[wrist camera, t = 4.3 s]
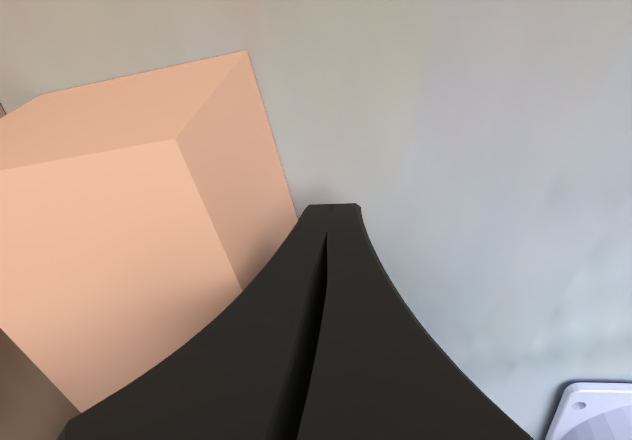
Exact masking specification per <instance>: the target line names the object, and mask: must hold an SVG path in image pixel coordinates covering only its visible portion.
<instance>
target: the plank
mask: <svg viewBox="0 0 632 440" xmlns="http://www.w3.org/2000/svg"><path fill="white" fill-rule="evenodd" d="M5 115H6V114H5V112H4V110H3V108H2V107H1V105H0V118H2V117H4V116H5ZM79 414H81V412H80V411H79V410H78V409H77V408H76V407H75V406H74V405H73V404H72V403H71V402H70V401H69V400H68V399H67V397H66V396H65V395H64V394H63V393H62V392H61V391H60V390H59V389H58V388H57V387H56V386H55V385H54V384H53V383H52V382H51V381H50V380H49V379H48V378H47V376H46V375H45V374H44V373H43V372H42V371H41V370H40V369H39V368H38V367H37V366H36V365H35V364H34V363H33V362H32V361H31V360H30V359H29V358H28V356H27V355H26V354H25V353H24V352H23V351H22V350H21V349H20V348H19V347H18V346H17V345H16V344H15V343H14V342H13V341H12V340H11V339H10V338H9V336H8V335H7V334H6V333H5V332H4V331H3V330H2V329H1V328H0V440H56V439H57V437H58V436H59V434H60V433H61V431H62V430H63V428H64V427H65V425H66V423H67V422H68V421H69V420H70V419H72V418H74V417H76V416H77V415H79Z"/></svg>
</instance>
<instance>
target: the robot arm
mask: <svg viewBox="0 0 632 440" xmlns="http://www.w3.org/2000/svg"><path fill="white" fill-rule="evenodd" d="M56 440H534V439H533V438H532V437H531V436H530V435H529V434H527V433H526V432H525V431H524V430H523V429H522V428H521V427H520V426H518V425H517V424H516V423H515V422H514V421H513V420H512V419H511V418H509V417H508V416H507V415H506V414H505V413H504V412H503V411H502V410H501V409H500V408H499V407H498V406H497V405H495V404H494V403H493V402H492V401H491V400H490V399H489V398H488V397H487V396H486V395H485V394H484V393H483V392H482V391H481V390H480V389H479V388H478V387H477V386H476V385H475V384H474V383H473V382H472V381H471V380H470V379H469V378H468V377H467V376H466V375H465V374H464V373H463V372H462V371H461V370H460V369H459V368H458V367H457V365H456V364H455V363H454V362H453V361H452V360H451V359H450V358H449V356H448V355H447V354H446V353H445V352H444V351H443V350H442V349H441V347H440V346H439V345H438V344H437V343H436V342H435V341H434V340H433V338H432V337H431V336H430V335H429V334H428V332H427V331H426V330H425V329H424V327H423V326H422V325H421V324H420V322H419V321H418V320H417V318H416V317H415V316H414V314H413V313H412V312H411V310H410V309H409V307H408V306H407V305H406V303H405V302H404V300H403V299H402V297H401V296H400V294H399V293H398V291H397V290H396V288H395V287H394V285H393V283H392V282H391V280H390V278H389V276H388V275H387V273H386V271H385V270H384V268H383V266H382V264H381V262H380V260H379V258H378V256H377V254H376V252H375V250H374V248H373V246H372V244H371V241H370V239H369V237H368V234H367V231H366V229H365V226H364V223H363V219H362V214H361V207H360V206H359V205H357V204H356V203H352V204H319V205H309V206H308V207H307V208H306V209H305V210H304V212H303V213H302V215H301V217H300V218H299V220H298V221H297V223H296V224H295V226H294V227H293V229H292V230H291V232H290V233H289V235H288V236H287V238H286V239H285V240H284V242H283V243H282V244H281V246H280V247H279V248H278V250H277V251H276V252H275V254H274V255H273V256H272V258H271V259H270V260H269V261H268V263H267V264H266V265H265V266H264V267H263V269H262V270H261V271H260V272H259V273H258V274H257V276H256V277H255V278H254V279H253V280H252V281H251V283H250V284H249V285H248V286H247V287H246V288H245V289H244V290H243V291H242V292H241V293H240V294H239V296H238V297H237V298H236V299H235V300H234V301H233V302H232V303H231V304H230V305H228V306H227V307H226V308H225V309H224V310H223V311H222V312H221V313H220V314H219V315H218V316H217V317H216V318H215V319H214V320H212V321H211V322H210V323H209V324H208V325H207V326H206V327H204V328H203V329H202V330H201V331H200V332H198V333H197V334H196V335H195V336H194V337H192V338H191V339H190V340H189V341H188V342H186V343H185V344H184V345H183V346H181V347H180V348H179V349H178V350H176V351H175V352H174V353H172V354H171V355H169V356H168V357H167V358H165V359H164V360H163V361H161V362H160V363H159V364H157V365H156V366H154V367H153V368H151V369H150V370H148V371H147V372H146V373H144V374H143V375H141V376H140V377H138V378H137V379H135V380H134V381H132V382H131V383H129V384H128V385H126V386H125V387H123V388H121V389H120V390H118V391H117V392H115V393H113V394H112V395H110V396H108V397H107V398H105V399H104V400H102V401H100V402H99V403H97V404H95V405H94V406H92V407H91V408H89V409H87V410H86V411H84V412H82V413H81V414H79V415H77V416H76V417H74V418H72V419H70V420H69V421H68V422H67V423H66V425H65V427H64V428H63V430H62V431H61V433H60V434H59V436H58V437H57V439H56ZM545 440H632V383H588V382H579V383H574V384H571V385H569V386H568V387H567V388H566V389H565V391H564V393H563V396H562V398H561V401H560V403H559V406H558V408H557V411H556V413H555V416H554V418H553V421H552V423H551V426H550V428H549V431H548V433H547V436H546V438H545Z"/></svg>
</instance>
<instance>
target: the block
mask: <svg viewBox="0 0 632 440" xmlns="http://www.w3.org/2000/svg"><path fill="white" fill-rule="evenodd" d="M297 221H298V218H297V215H296V211H295V208H294V205H293V202H292V198H291V195H290V192H289V188H288V185H287V182H286V178H285V175H284V172H283V168H282V165H281V162H280V158H279V155H278V152H277V149H276V145H275V142H274V139H273V135H272V132H271V129H270V125H269V122H268V119H267V115H266V112H265V109H264V105H263V102H262V99H261V96H260V92H259V89H258V86H257V82H256V79H255V76H254V72H253V69H252V66H251V62H250V59H249V56H248V52H247V50H245V51H240V52H236V53H231V54H227V55H222V56H217V57H213V58H208V59H204V60H199V61H194V62H190V63H185V64H181V65H176V66H171V67H167V68H162V69H158V70H153V71H148V72H144V73H139V74H134V75H130V76H125V77H121V78H116V79H111V80H107V81H102V82H98V83H93V84H88V85H84V86H79V87H75V88H70V89H65V90H61V91H56V92H52V93H47V94H42V95H39V96H38V97H36V98H34V99H33V100H31V101H29V102H27V103H26V104H24V105H22V106H21V107H19V108H17V109H15V110H14V111H12V112H10V113H9V114H7V115H5V116H4V117H2V118H0V328H1V329H2V330H3V331H4V332H5V333H6V334H7V335H8V336H9V338H10V339H11V340H12V341H13V342H14V343H15V344H16V345H17V346H18V347H19V348H20V349H21V350H22V351H23V352H24V353H25V354H26V355H27V356H28V358H29V359H30V360H31V361H32V362H33V363H34V364H35V365H36V366H37V367H38V368H39V369H40V370H41V371H42V372H43V373H44V374H45V375H46V376H47V378H48V379H49V380H50V381H51V382H52V383H53V384H54V385H55V386H56V387H57V388H58V389H59V390H60V391H61V392H62V393H63V394H64V395H65V396H66V397H67V399H68V400H69V401H70V402H71V403H72V404H73V405H74V406H75V407H76V408H77V409H78V410H79V411H80V412H81V413H82V412H84V411H86V410H87V409H89V408H91V407H92V406H94V405H95V404H97V403H99V402H100V401H102V400H104V399H105V398H107V397H108V396H110V395H112V394H113V393H115V392H117V391H118V390H120V389H121V388H123V387H125V386H126V385H128V384H129V383H131V382H132V381H134V380H135V379H137V378H138V377H140V376H141V375H143V374H144V373H146V372H147V371H148V370H150V369H151V368H153V367H154V366H156V365H157V364H159V363H160V362H161V361H163V360H164V359H165V358H167V357H168V356H169V355H171V354H172V353H174V352H175V351H176V350H178V349H179V348H180V347H181V346H183V345H184V344H185V343H186V342H188V341H189V340H190V339H191V338H192V337H194V336H195V335H196V334H197V333H198V332H200V331H201V330H202V329H203V328H204V327H206V326H207V325H208V324H209V323H210V322H211V321H212V320H214V319H215V318H216V317H217V316H218V315H219V314H220V313H221V312H222V311H223V310H224V309H225V308H226V307H227V306H228V305H230V304H231V303H232V302H233V301H234V300H235V299H236V298H237V297H238V296H239V294H240V293H241V292H242V291H243V290H244V289H245V288H246V287H247V286H248V285H249V284H250V283H251V281H252V280H253V279H254V278H255V277H256V276H257V274H258V273H259V272H260V271H261V270H262V269H263V267H264V266H265V265H266V264H267V263H268V261H269V260H270V259H271V258H272V256H273V255H274V254H275V252H276V251H277V250H278V248H279V247H280V246H281V244H282V243H283V242H284V240H285V239H286V238H287V236H288V235H289V233H290V232H291V230H292V229H293V227H294V226H295V224H296V223H297Z"/></svg>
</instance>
